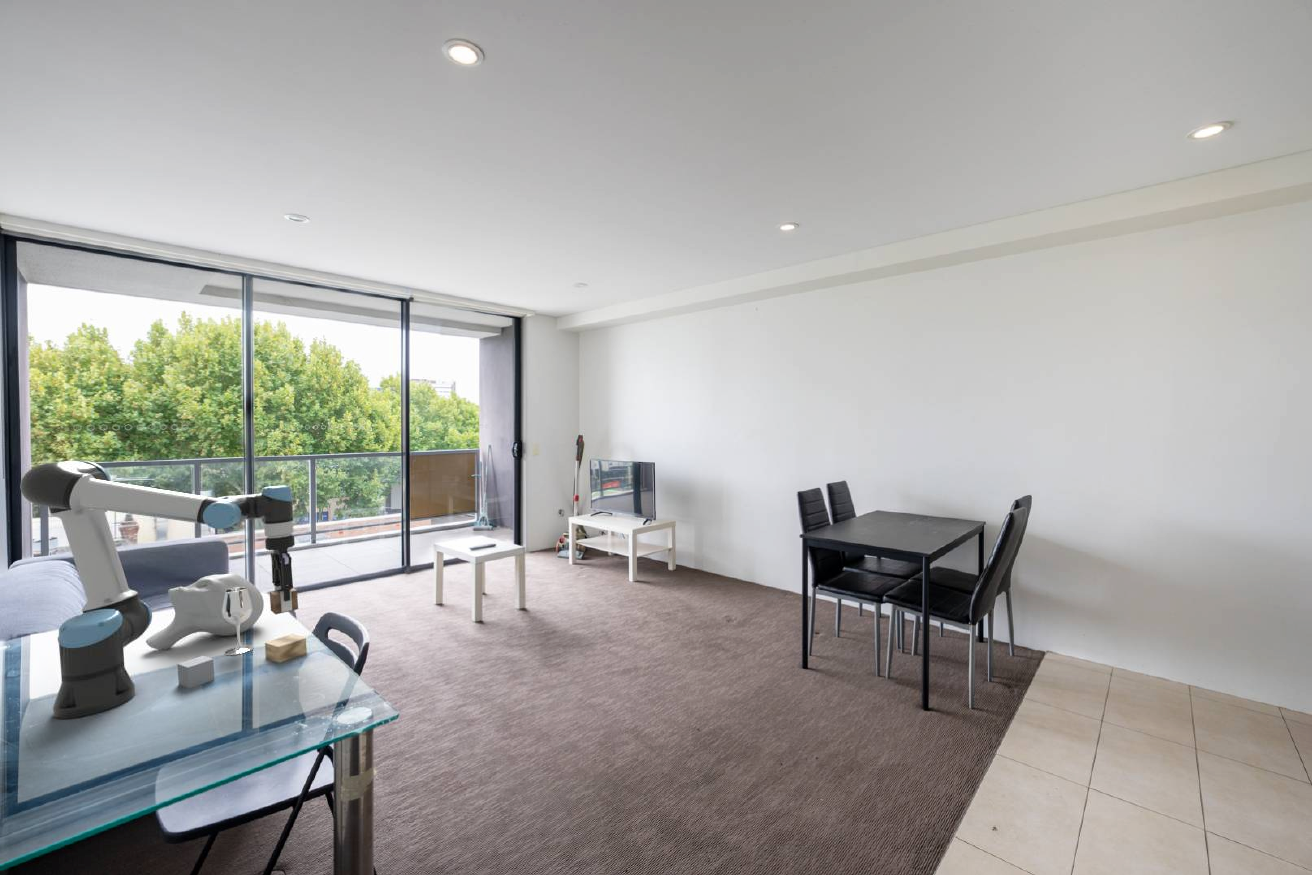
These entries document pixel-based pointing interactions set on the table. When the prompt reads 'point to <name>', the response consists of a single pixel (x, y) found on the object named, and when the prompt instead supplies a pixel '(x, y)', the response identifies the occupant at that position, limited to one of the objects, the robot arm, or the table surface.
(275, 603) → the walnut block
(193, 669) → the grey block
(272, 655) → the base block
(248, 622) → the alien head
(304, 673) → the table surface
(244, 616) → the wineglass
